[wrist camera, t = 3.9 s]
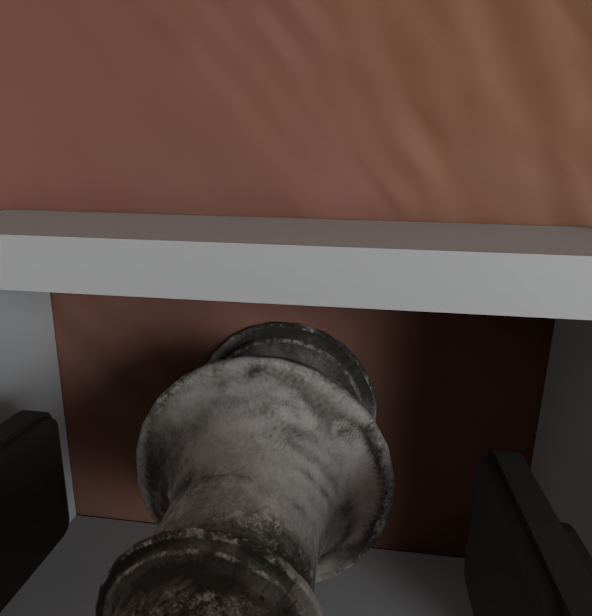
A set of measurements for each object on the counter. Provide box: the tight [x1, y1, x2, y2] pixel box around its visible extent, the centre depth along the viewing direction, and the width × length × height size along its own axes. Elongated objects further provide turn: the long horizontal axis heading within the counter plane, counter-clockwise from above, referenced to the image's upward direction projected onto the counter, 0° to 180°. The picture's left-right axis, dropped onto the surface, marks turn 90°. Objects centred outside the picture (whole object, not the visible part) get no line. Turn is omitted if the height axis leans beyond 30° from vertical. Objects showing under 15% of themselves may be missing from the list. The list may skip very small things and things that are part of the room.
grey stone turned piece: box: [95, 322, 395, 616], centre depth 9 cm, size 6×6×12 cm
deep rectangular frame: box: [0, 210, 592, 616], centre depth 12 cm, size 16×11×5 cm
